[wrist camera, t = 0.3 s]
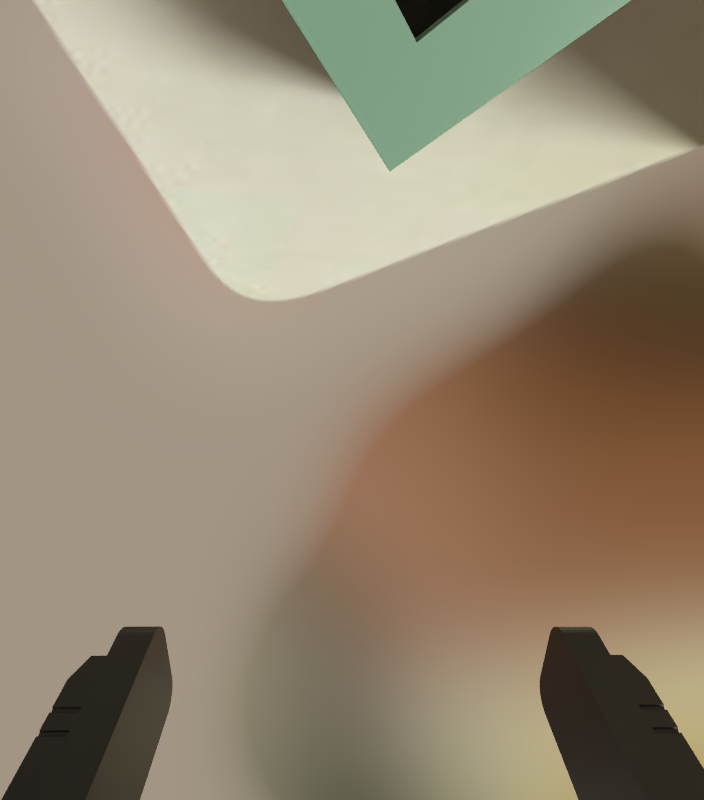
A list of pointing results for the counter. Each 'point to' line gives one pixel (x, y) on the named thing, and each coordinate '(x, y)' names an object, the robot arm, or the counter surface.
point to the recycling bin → (434, 59)
